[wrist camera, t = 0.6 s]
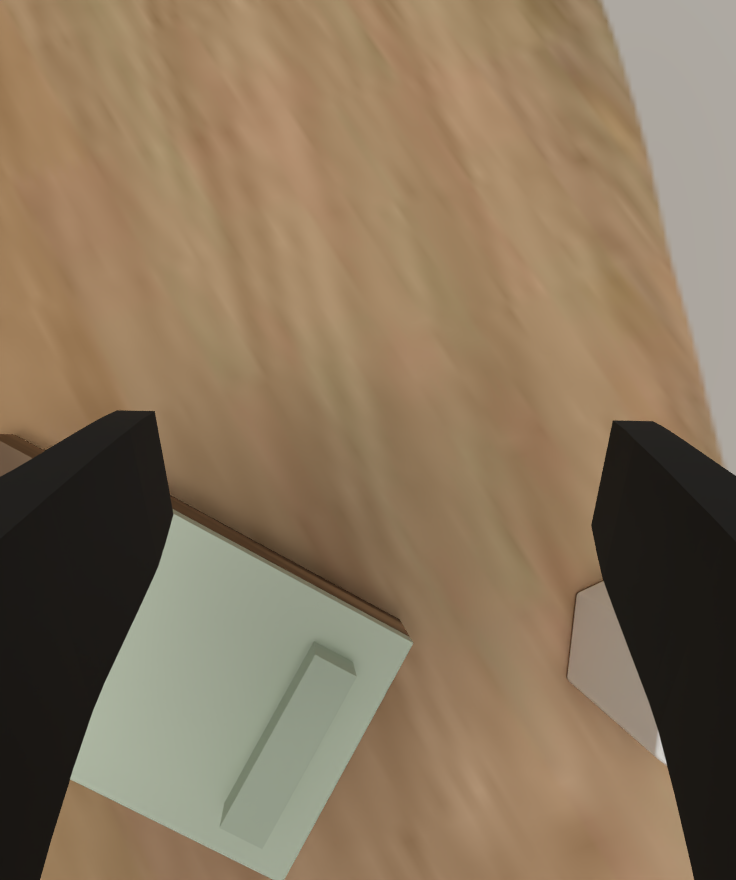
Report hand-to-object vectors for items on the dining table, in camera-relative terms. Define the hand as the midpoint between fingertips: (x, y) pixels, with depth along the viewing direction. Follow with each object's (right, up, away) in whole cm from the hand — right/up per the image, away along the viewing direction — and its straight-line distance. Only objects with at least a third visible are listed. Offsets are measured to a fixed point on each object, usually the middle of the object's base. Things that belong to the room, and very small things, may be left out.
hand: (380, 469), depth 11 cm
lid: (-9, -10, +20) cm, 24 cm away
